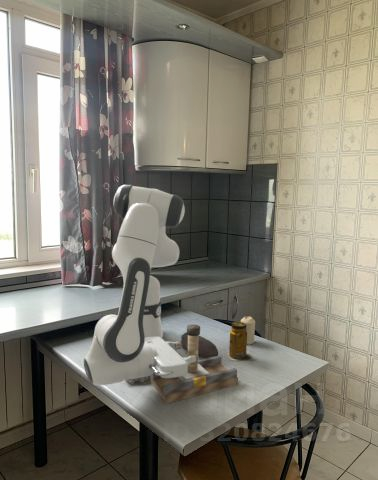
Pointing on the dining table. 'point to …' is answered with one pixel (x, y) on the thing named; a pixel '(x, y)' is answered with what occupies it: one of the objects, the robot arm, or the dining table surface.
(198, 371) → the press handle
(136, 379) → the egg carton
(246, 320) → the candle
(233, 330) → the condiment
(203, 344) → the perforated stone tool
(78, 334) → the dining table surface
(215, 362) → the press base
